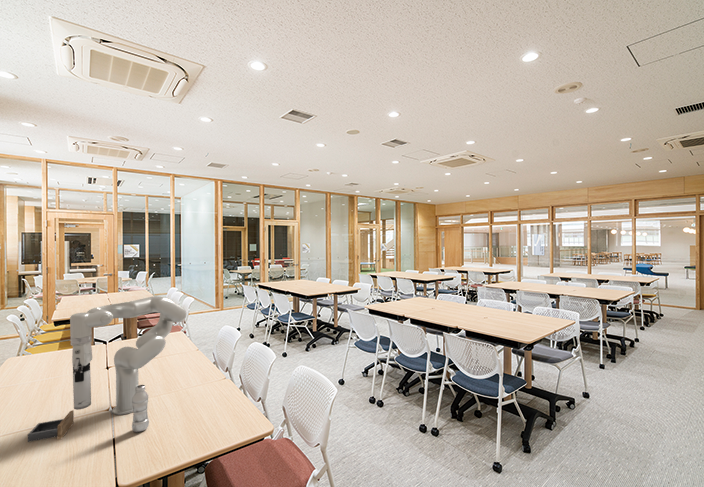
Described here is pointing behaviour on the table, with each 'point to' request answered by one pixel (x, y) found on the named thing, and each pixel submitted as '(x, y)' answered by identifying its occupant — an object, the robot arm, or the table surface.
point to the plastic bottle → (140, 409)
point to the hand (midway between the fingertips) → (82, 378)
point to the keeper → (44, 430)
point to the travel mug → (82, 389)
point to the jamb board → (65, 424)
